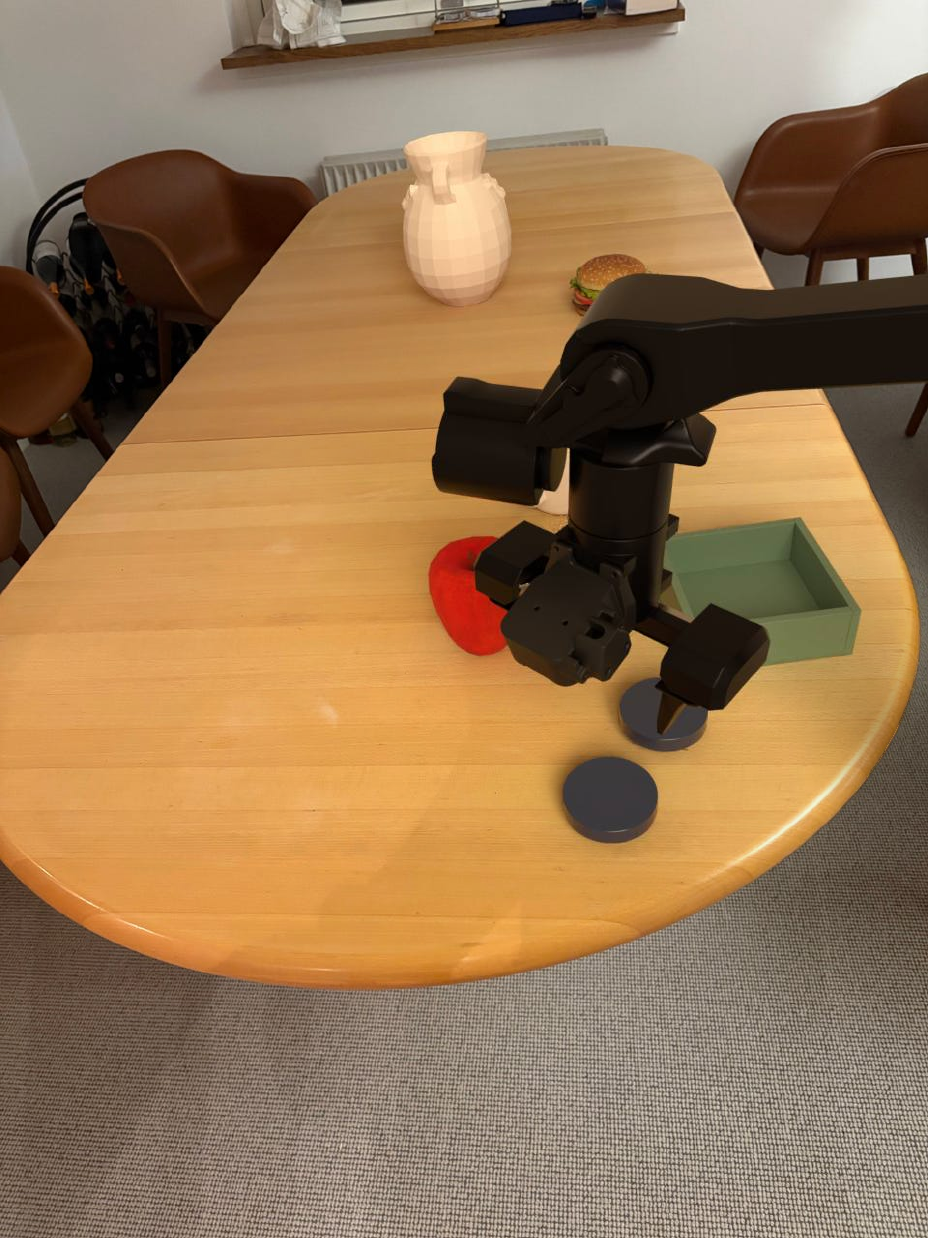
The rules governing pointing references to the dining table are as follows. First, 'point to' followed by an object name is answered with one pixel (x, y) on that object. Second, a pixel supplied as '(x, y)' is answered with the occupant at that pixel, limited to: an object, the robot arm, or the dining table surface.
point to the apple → (465, 598)
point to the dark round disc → (610, 799)
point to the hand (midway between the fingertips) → (605, 698)
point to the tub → (766, 586)
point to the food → (601, 277)
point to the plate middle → (642, 719)
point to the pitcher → (455, 219)
